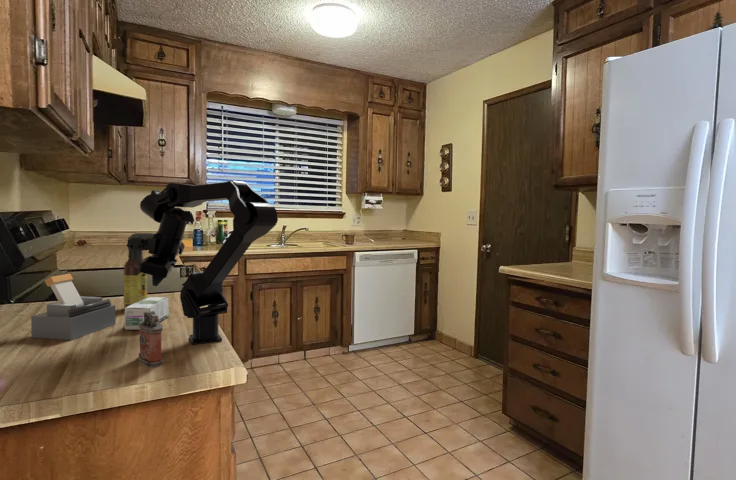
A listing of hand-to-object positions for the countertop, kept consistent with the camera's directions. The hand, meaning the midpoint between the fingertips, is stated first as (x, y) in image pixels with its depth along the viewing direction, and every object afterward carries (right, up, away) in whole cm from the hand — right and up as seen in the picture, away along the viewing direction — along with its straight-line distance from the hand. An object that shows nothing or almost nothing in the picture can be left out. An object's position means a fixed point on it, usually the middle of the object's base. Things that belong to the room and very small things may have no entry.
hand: (155, 285), depth 105 cm
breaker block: (-17, -11, -5) cm, 21 cm away
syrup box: (-5, -7, +11) cm, 14 cm away
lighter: (+11, -13, -23) cm, 28 cm away
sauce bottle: (-16, -9, +19) cm, 27 cm away
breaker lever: (-17, -6, -5) cm, 19 cm away
